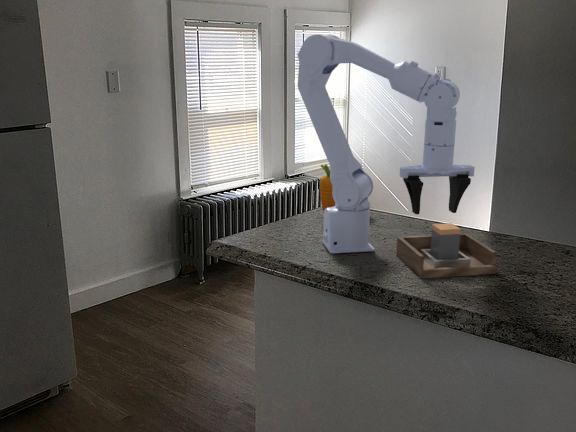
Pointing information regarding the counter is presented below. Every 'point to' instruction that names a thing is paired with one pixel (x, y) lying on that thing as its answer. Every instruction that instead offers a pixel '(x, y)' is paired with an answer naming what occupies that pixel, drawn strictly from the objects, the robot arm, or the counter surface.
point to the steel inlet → (446, 263)
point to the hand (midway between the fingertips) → (434, 212)
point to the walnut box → (468, 246)
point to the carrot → (326, 189)
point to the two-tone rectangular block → (445, 241)
